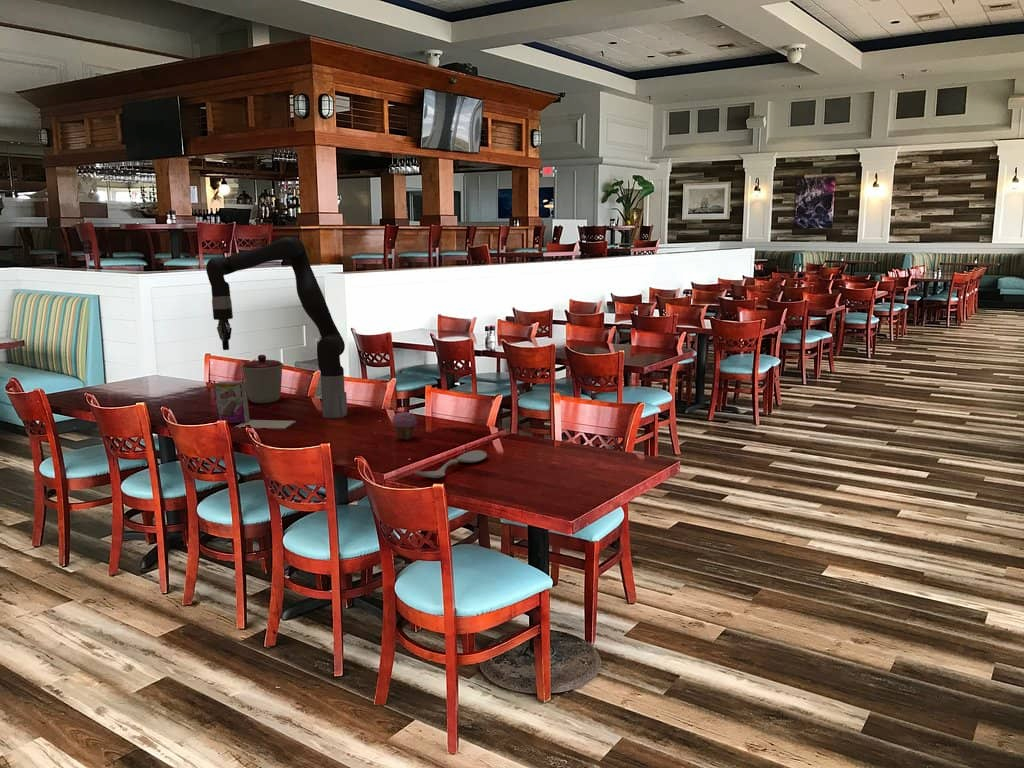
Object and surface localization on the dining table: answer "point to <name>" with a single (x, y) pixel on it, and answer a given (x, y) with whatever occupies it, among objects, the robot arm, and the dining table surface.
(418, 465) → the dining table surface
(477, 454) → the spoon
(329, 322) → the robot arm
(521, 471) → the dining table surface
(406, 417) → the cupcake
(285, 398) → the dining table surface
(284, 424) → the placemat
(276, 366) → the canister
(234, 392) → the candy bar box
